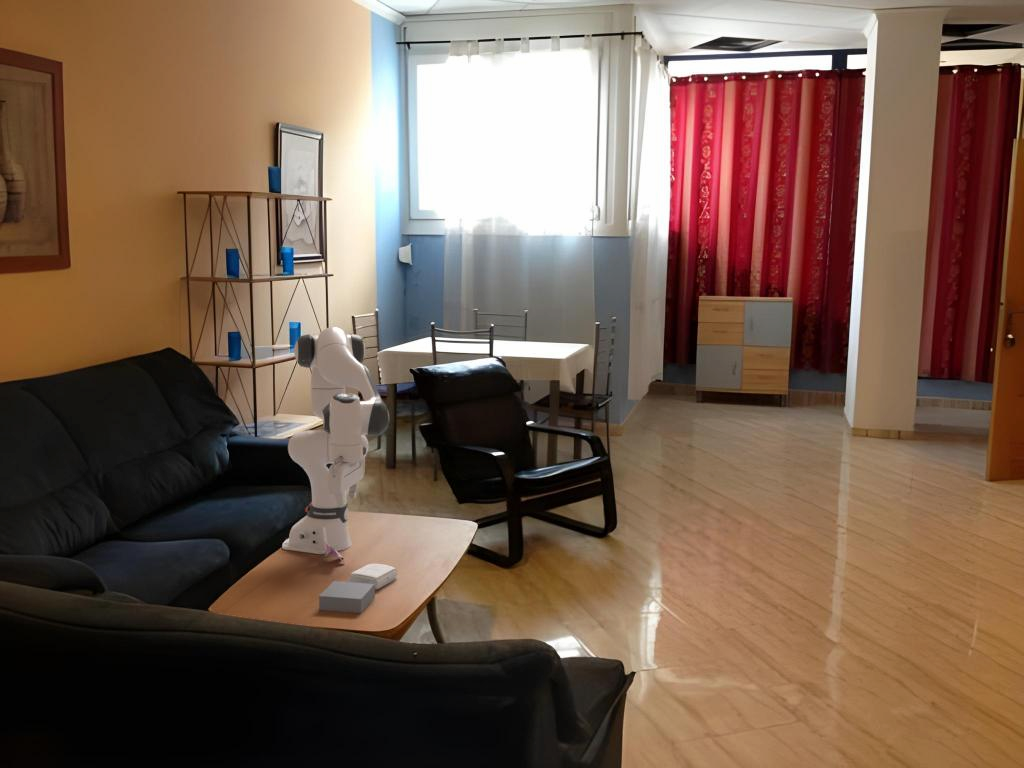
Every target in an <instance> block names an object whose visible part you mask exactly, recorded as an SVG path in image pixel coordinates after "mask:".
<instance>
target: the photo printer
mask: <svg viewBox="0 0 1024 768" xmlns="http://www.w3.org/2000/svg"><path fill="white" fill-rule="evenodd" d="M397 576H398V569H397V568H395V567H394V566H391V565H388V564H382V563H369V564H366V565H364V566H362V567H360V568H359V569H357V570H354V571H352V572H351V573H350V575H349V576H348V582H354V583H368V584H375V590H379V589H381V588H382V587H384V586H386V585H388V584H389V583H390V584H391V582H393V581H395V580H396V578H397Z"/></svg>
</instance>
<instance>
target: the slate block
mask: <svg viewBox="0 0 1024 768" xmlns="http://www.w3.org/2000/svg"><path fill="white" fill-rule="evenodd" d="M375 590H376V589H375V584H368V583H354V582H349V581H340V580H339V581H336V580H334V581H332V582H331V584H330V585H329V586H328V587H326V589H324V590H323V591H322V592H321V593H320V594H319V595H318V609H319V611H329V612H342V613H353V614H356V613H357V614H363V612H364V611H365V610H366V608H367V607H368V606H369V605H370V604H371V602H372V601H374V599H375V597H376V596H375V595H376V593H375V592H376V591H375Z"/></svg>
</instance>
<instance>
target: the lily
mask: <svg viewBox="0 0 1024 768" xmlns="http://www.w3.org/2000/svg"><path fill="white" fill-rule="evenodd" d="M321 535H322V534H321ZM322 536H323V535H322ZM323 537H324V536H323ZM324 539H325V538H324ZM323 541H324V540H323ZM325 541H326V543H327V544H326V553H325V554H324V557H322V560H321V562H320V565H322V563H323V562H324V559H325V558H326V557H327V556H333V557H336V558H338V559H339V560H341V562H342V563H343V564H344V565H346V564H345V562H344V560H342V558H343V559H345V558H344V557H343V556H342V555H341V553H339V551H336V550H334V548H335V547H334V548H332V547H331V546H329V544H328V542H327V540H326V539H325ZM325 541H324V542H325ZM336 547H337V546H336ZM335 549H336V548H335Z"/></svg>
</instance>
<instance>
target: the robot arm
mask: <svg viewBox="0 0 1024 768" xmlns="http://www.w3.org/2000/svg"><path fill="white" fill-rule="evenodd" d="M293 353H294V358H295V360H296V362H297V364H298V365H299V366H300V367H302V368H306V369H310V368H311V376H310V410H311V412H312V414H313V415H314V416H316V417H317V418H318V419H321V420H323V421H322V429H321V430H320V429H319V430H318V429H316V430H312V429H307V430H303V431H300V432H295V433H294V434H292V436H291V437H290V438H289V440H288V444H287V451H288V454H289V456H290V458H291V459H292V461H293V462H294V463H296V464H298V465H299V466H300V467H301V468H302V469H303V470H304V472H305V473H306V475H307V476H308V479H309V482H310V487H311V502H310V503H309V504H308V505H307V506H306V508H305V510H304V511H305V513H306V515H305V516H304V517H303V518H301V519H299V521H297V522H296V523H295V524H294V525H293V526H292V527H291V529H290V531H289V536H288V538H286V539H285V540H284V542H282V545H281V546H282V549H283V550H286V551H287V550H288V551H292V552H293V551H295V552H300V553H301V552H302V553H308V554H316V555H326V544H327V543H326V541H325V539H326V540H327V542H328V544H329V546H331V547H332V548H334V547H335V548H336V549H335V548H334V550H336V551H337V552H340V551H343V550H344V551H345V550H346V549H349V548H350V547H352V540H351V538H350V533H349V527H348V520H349V519H348V518H349V508H348V507H349V506H348V502H347V497H348V499H352V500H353V499H355V498H356V497H357V489H358V484H359V482H360V481H361V480H363V478H364V475H365V469H366V456H367V455H368V451H369V447H370V446H369V440H368V438H367V436H372V437H373V436H374V437H375V436H376V437H377V436H380V435H382V434H383V433H384V432H386V430H387V429H388V428H389V424H390V413H389V410H388V407H387V406H386V403H385V402H384V401H383V399H382V397H381V394H380V393H379V390H378V388H377V386H376V383H375V380H374V379H373V377H372V374H371V372H370V370H369V369H368V367H367V366H366V365H364V364H363V362H364V359H365V356H366V345H365V343H364V339H363V338H362V336H360V334H354V333H350V334H348V333H346V332H345V331H344V330H343V329H342V328H340V327H336V326H330V327H326V328H324V329H323V330H321V332H320V333H318V334H317V333H316V334H309V333H308V334H303V335H300V337H298V338H297V339H296V342H295V345H294V350H293ZM346 387H348V388H351V389H355V390H356V391H358V392H359V393H360V394H361V396H362V398H363V400H361V399H360V397H359V395H357V394H355V393H351V392H346ZM328 464H331V465H330V466H329V468H328V466H327V465H328ZM347 490H348V492H347ZM347 494H348V496H347ZM321 534H322V535H323V536H324V537H323V536H322V535H321ZM324 538H325V539H324ZM323 540H324V541H325V542H324V541H323ZM336 546H337V547H336Z"/></svg>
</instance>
